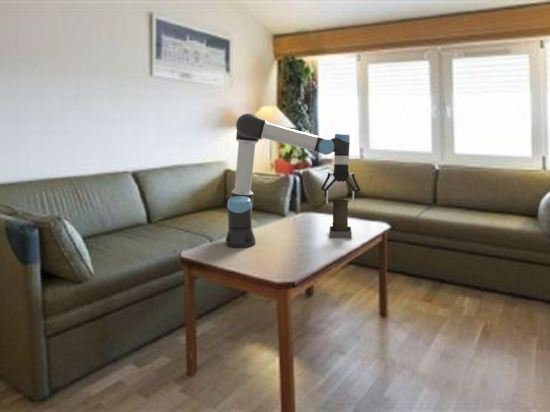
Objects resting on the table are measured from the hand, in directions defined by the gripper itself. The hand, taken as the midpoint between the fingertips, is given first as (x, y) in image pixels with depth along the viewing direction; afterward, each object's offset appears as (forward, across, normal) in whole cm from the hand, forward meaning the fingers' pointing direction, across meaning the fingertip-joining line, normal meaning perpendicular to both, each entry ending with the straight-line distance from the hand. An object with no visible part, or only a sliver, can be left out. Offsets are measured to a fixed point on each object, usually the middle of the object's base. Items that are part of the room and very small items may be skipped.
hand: (340, 203), depth 244 cm
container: (+16, +1, 0) cm, 16 cm away
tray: (+17, +1, 0) cm, 17 cm away
